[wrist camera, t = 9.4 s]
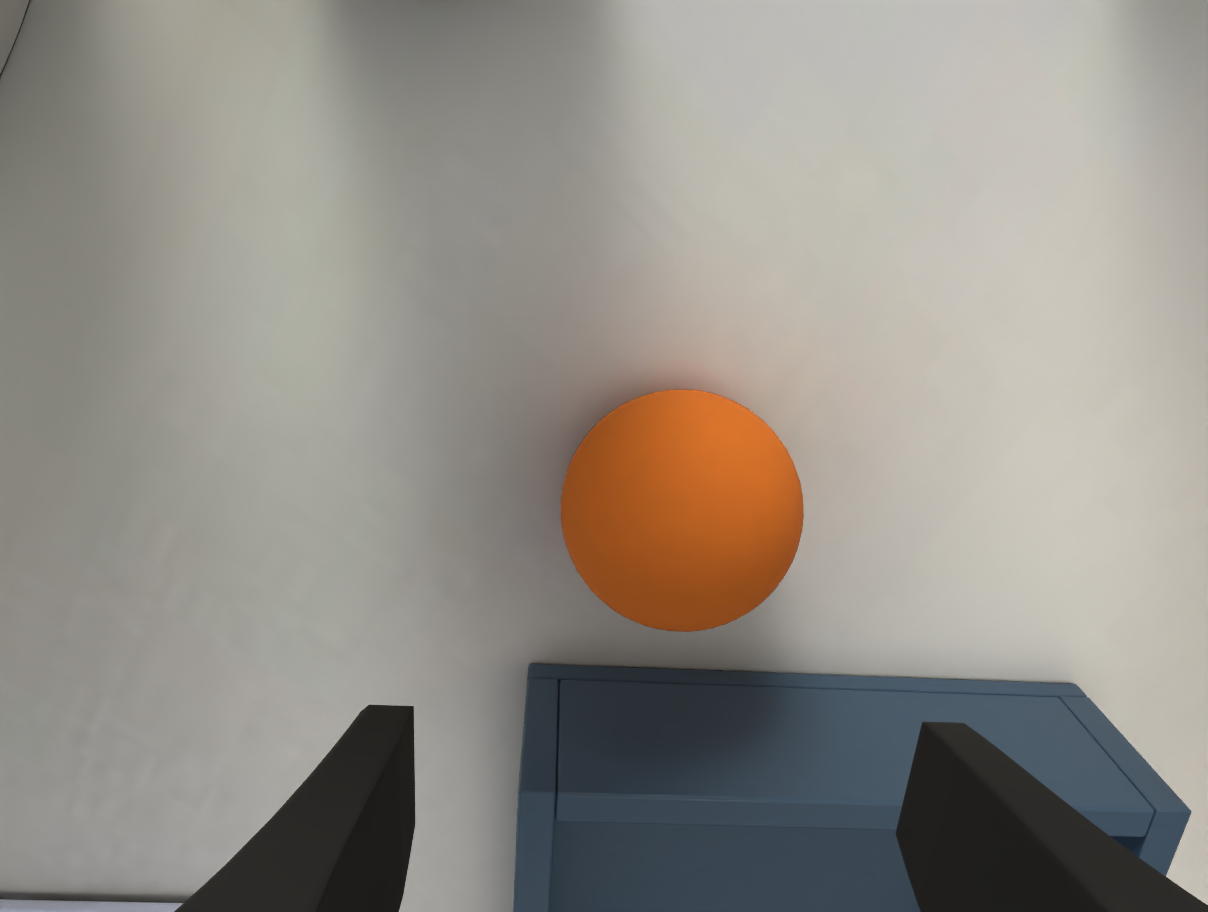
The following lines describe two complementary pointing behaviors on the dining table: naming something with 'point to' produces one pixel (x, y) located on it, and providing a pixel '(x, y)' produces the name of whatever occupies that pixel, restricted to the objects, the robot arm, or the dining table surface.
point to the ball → (682, 510)
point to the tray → (781, 784)
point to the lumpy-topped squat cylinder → (10, 25)
